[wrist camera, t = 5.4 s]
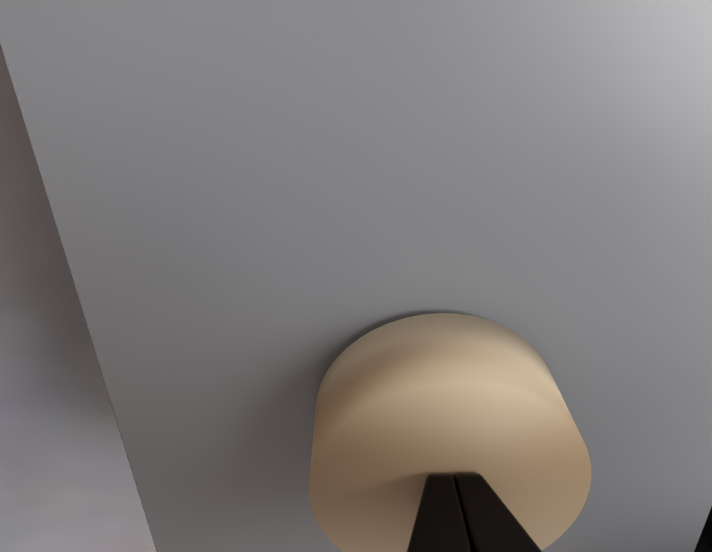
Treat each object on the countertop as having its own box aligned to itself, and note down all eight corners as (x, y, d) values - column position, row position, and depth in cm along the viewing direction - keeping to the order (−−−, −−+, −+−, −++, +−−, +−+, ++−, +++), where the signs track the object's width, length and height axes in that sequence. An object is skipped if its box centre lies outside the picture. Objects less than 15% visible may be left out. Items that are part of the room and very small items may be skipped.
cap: (489, 351, 16) (568, 576, 10) (329, 356, 16) (317, 583, 10) (504, 202, 14) (616, 378, 8) (320, 208, 14) (298, 387, 8)
